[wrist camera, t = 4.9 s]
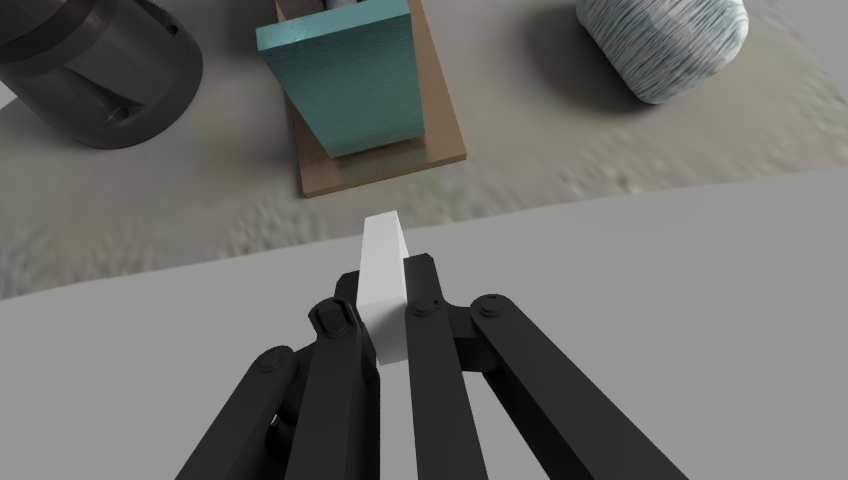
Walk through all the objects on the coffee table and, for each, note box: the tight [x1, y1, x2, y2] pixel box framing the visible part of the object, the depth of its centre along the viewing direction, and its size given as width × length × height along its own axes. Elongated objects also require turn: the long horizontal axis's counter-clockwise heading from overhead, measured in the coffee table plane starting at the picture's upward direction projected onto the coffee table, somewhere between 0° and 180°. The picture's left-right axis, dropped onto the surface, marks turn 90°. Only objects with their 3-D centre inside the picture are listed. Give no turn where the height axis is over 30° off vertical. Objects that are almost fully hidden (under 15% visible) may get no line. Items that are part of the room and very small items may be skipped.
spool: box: [576, 0, 749, 104], centre depth 27 cm, size 14×10×10 cm
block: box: [256, 0, 425, 158], centre depth 25 cm, size 14×8×11 cm, turn 13°
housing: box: [276, 0, 467, 198], centre depth 29 cm, size 27×14×9 cm, turn 13°
